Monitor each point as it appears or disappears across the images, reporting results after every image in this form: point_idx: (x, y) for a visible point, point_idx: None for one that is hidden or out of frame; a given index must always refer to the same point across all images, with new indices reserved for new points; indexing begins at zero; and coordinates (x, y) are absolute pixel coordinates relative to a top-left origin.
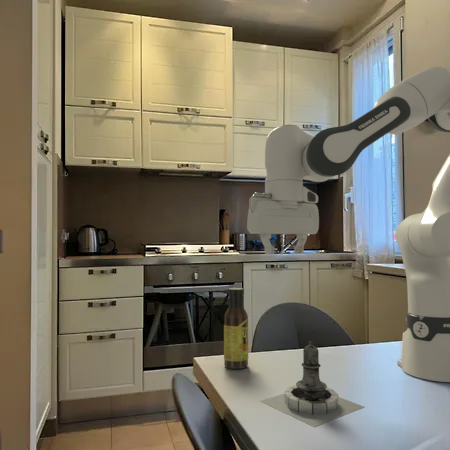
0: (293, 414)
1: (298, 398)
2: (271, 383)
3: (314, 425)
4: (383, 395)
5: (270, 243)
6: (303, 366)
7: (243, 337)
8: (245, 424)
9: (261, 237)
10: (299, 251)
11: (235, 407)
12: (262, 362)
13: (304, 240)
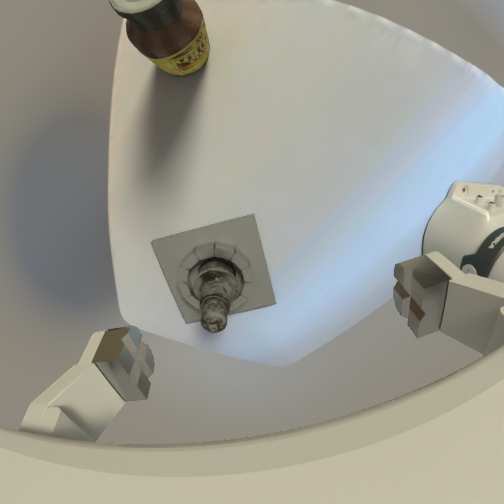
0: (177, 292)
1: (188, 291)
2: (205, 167)
3: (187, 320)
4: (334, 273)
5: (109, 418)
6: (199, 306)
7: (179, 64)
8: (118, 284)
9: (35, 421)
10: (399, 312)
11: (117, 238)
12: (251, 47)
13: (482, 349)
